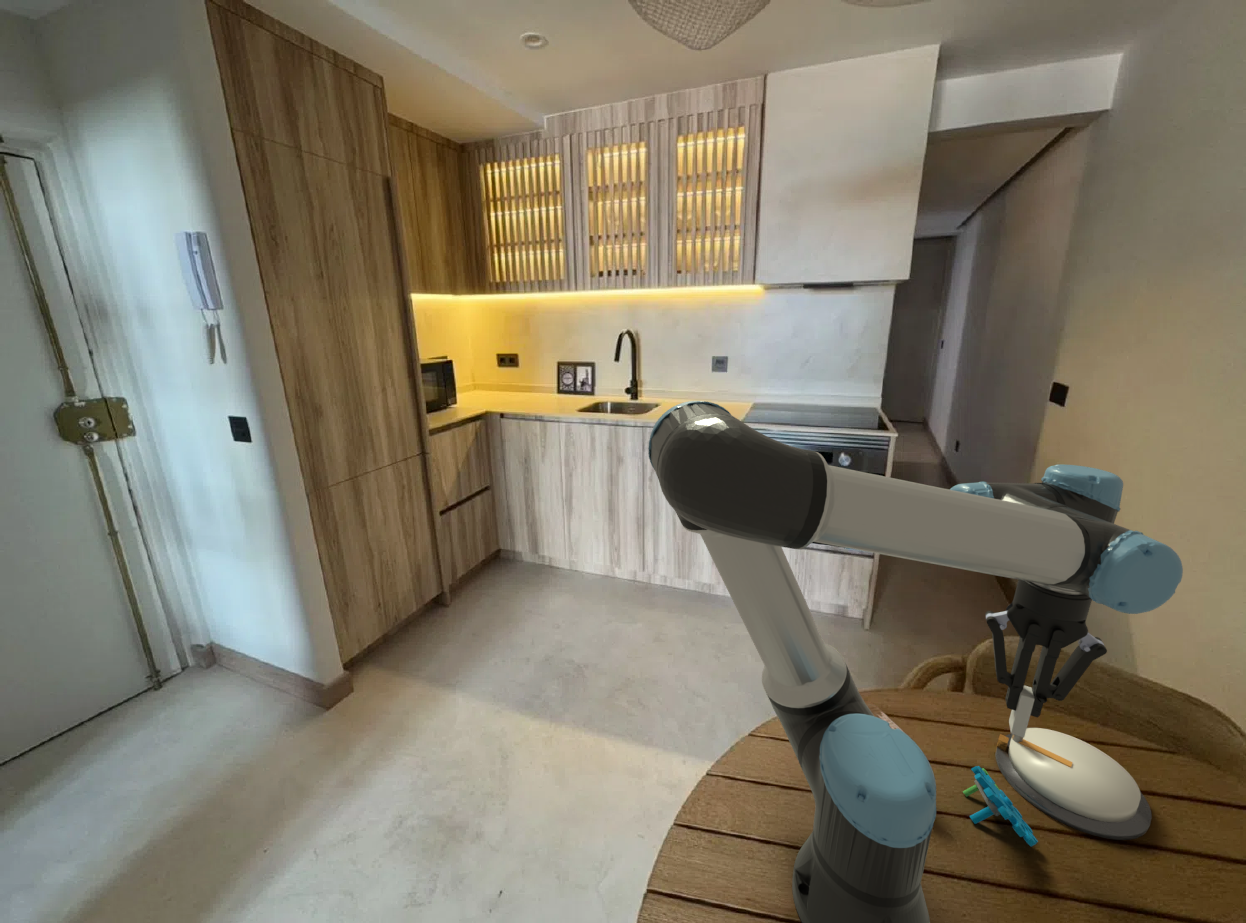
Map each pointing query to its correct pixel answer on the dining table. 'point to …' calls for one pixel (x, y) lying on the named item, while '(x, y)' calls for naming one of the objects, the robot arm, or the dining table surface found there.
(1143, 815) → the dial base
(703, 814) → the dining table surface
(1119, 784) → the dial
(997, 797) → the gear
